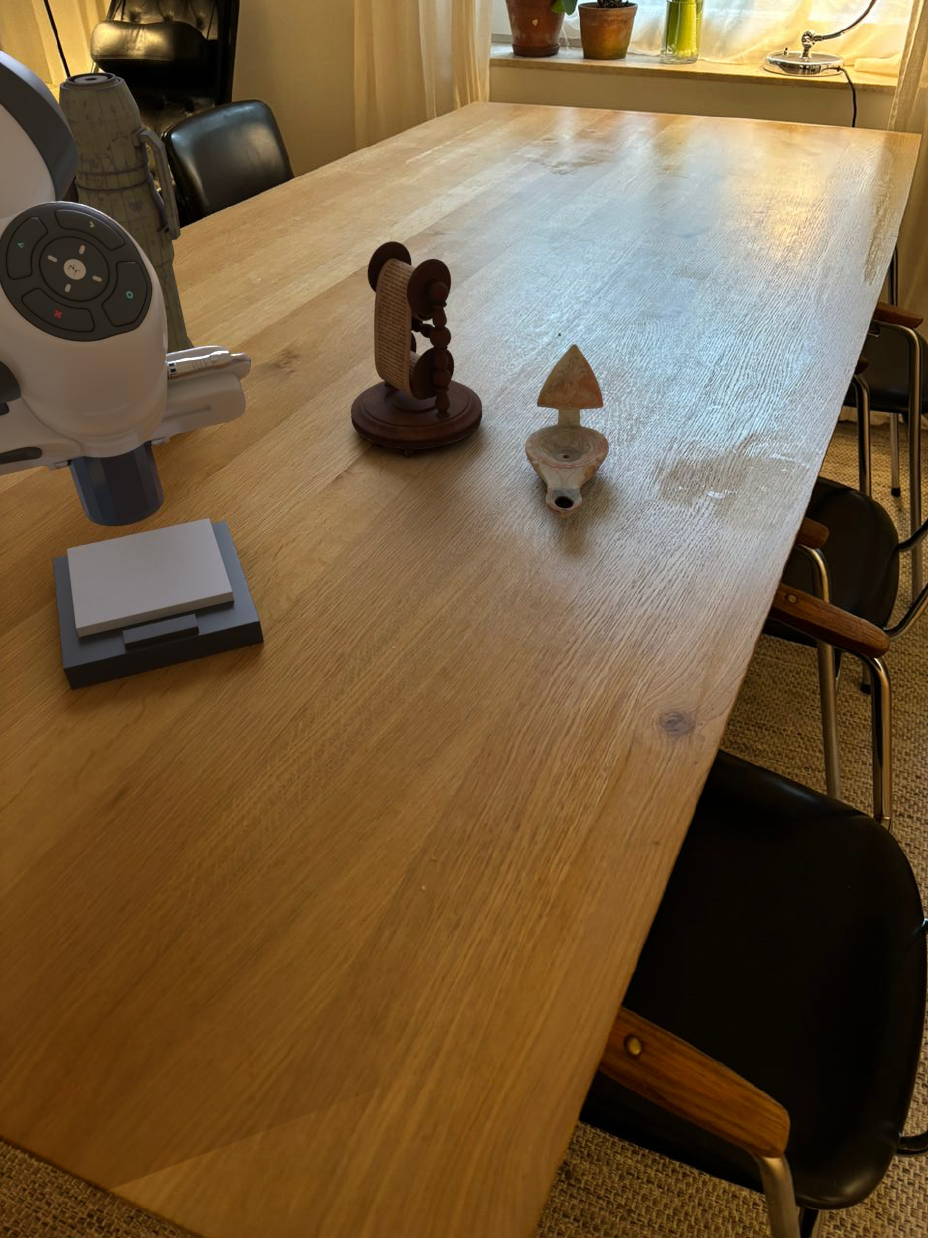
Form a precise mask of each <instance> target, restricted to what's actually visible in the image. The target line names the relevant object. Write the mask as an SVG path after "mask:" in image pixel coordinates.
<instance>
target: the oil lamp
mask: <svg viewBox="0 0 928 1238" xmlns="http://www.w3.org/2000/svg"><path fill="white" fill-rule="evenodd" d="M600 386H601V385H600V384H599V381H598V379H597V377H596V375H595V372H594V370H593V369H592V366H591V365H590V363H589V361H588V360H587V359H586V357H585V355H584V354H583V353H582V351H581V349H580V348H579V346H578V344H576V343H573V344H571V345H570V346H569V348H568V349H567V350H566V352H565V353H564V354H563V355H562V356H561V357H560V359H559V360H558V361H557V363H556V364H554V366H553V368H552V369H551V371H550V373H549V374H548V375H547V377H546V379H545V381H544V382H543V385H542V387H541V389H540V391H539V393H538V397H537V400H536V406H537V407H538V408H546V409H553V410H554V409H555V410H557V411H558V413H557V414H558V415H557V422H556V424H551V425H549V426H548V425H547V426H545V427H542V428H539V429H538V430H537V429H536V430H535V431H533V432H532V433H531V434H530V435H529V436H528V437H527V439H526V440H525V444H524V450H525V451H524V452H525V455H526V458H527V459H528V463H529V464H530V465H531V468H532V470H533V471H534V472H535V474H537V475H538V476H539V477H540V479H542V480H543V481H544V483H545V484H546V487H547V489H546V490H547V493H546V495H545V498H544V499H545V503H546V506H547V507H548V508H549V510H550V511H551V512H552V513H554V514H555V515H557V516H558V517H560V518H562V519H566V518H569V517H570V516H572V515H574V514H575V513H576V512H577V511H578V510H579V509H580V507H581V506H582V504H583V497H582V494H581V488H583V485H584V484H585V483H586V482H588V481H590V480H591V479H592V478H593V477H594V476H595V475H596V474H597V472H598V471H599V470H600V468H601V466H602V465H603V463H604V462H605V460H606V458H607V456H608V454H609V452H610V443H609V440H608V438H607V437H606V436H605V435H604V434H603V433H601V432H600V431H598V430H596V429H593V428H590V427H587V426H583V425H581V410H595V409H601V408H603V407H604V398H603V394H602V389H601V387H600Z"/></svg>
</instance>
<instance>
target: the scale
mask: <svg viewBox="0 0 928 1238" xmlns="http://www.w3.org/2000/svg"><path fill="white" fill-rule="evenodd" d="M66 553H67V554H66V555H65V554H64V555H61V556H56V557H53V558H52V568H53V578H54V589H55V598H56V600H55V601H56V609H57V610H56V611H57V621H58V629H59V631H58V632H59V640H60V649H61V650H60V652H61V660H62V661H61V663H62V670H63V672H64V675H65V677H66V681H67V683H68V685H69V688H70V690H71V691H73V690H76V689H81V688H84V687H90V686H93V685H96V684H97V685H98V684H101V683H105V682H109V681H114V680H117V679H121V678H124V677H129V676H132V675H133V676H134V675H137V674H141V673H145V672H150V671H152V670H153V671H154V670H157V669H161V668H165V667H168V666H169V667H170V666H172V665H177V664H180V663H181V664H182V663H185V662H189V661H192V660H196V659H200V658H205V657H208V656H212V655H217V654H221V653H225V652H228V651H233V650H236V649H241V648H245V647H249V646H253V645H256V644H260V643H264V642H265V639H264V634H263V630H262V625H261V620H260V617H259V614H258V611H257V608H256V605H255V602H254V600H253V596H252V593H251V591H250V587H249V585H248V581H247V578H246V575H245V573H244V569H243V567H242V564H241V561H240V558H239V555H238V552H237V549H236V546H235V543H234V540H233V537H232V534H231V532H230V528H229V525H228V522H227V520H222V521H217V522H213V523H212V522H211V519H210V517H209V518H204V519H199V520H193V521H190V522H189V521H188V522H185V523H180V524H176V525H169V526H165V527H162V528H161V527H160V528H156V529H152V530H147V531H143V532H138V533H134V534H133V533H132V534H128V535H123V536H119V537H115V538H109V539H105V540H102V541H95V542H92V543H88V544H87V543H86V544H83V545H78V546H73V547H69V548H66Z"/></svg>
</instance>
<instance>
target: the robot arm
mask: <svg viewBox="0 0 928 1238" xmlns="http://www.w3.org/2000/svg"><path fill="white" fill-rule="evenodd" d="M78 168H79V154H78V149H77V146H76V143H75V140H74V137H73V134H72V132H71V129H70V127H69V124H68V122H67V119H66V117H65V115H64V113H63V111H62V109H61V107H60V105H59V101H58V100H57V99H56V97H55V96H54V94H53V92H52V91H51V89H50V87H48V85H47V84H46V83H45V81H43V80H42V78H41V77H40V76H38V75H37V74H36V73H35V72H34V71H32V70H31V69H30V68H28V67H27V66H26V65H25V64H23V63H21V62H20V61H19V60H17V59H15V58H14V57H13V56H11V55H9V54H7V53H6V52H5V51H2V50H0V477H1V476H6V475H10V474H14V473H18V472H24V471H27V470H31V469H32V470H33V469H35V468H39V467H47V468H48V471H49V472H52V471H55V470H60V469H64V468H69V463H68V460H70V459H74V458H78V457H82V456H88V457H112V456H117V455H121V454H124V453H127V452H129V451H131V450H134V449H136V448H137V447H139V446H140V445H142V444H143V443H144V442H146V441H150V444H151V448H152V447H156V446H161V445H165V444H170V442H171V437H174V436H176V435H179V434H184V433H188V432H191V431H196V430H199V429H204V428H208V427H213V426H218V425H222V424H227V423H230V422H232V421H235V420H237V419H239V418H240V417H242V416H243V415H244V414H245V413H246V410H247V402H246V396H245V393H244V390H243V385H242V383H241V381H242V380H243V379H245V378H246V377H247V376H248V375H249V374H250V372H251V367H252V364H251V363H252V359H251V357H249V355H248V354H247V353H246V352H241V353H240V352H239V353H233V354H231V352H230V351H229V349H227V348H226V347H224V346H221V345H205V346H204V345H203V346H197V347H195V348H193V349H188V350H183V351H179V352H174V353H169V354H167V349H168V331H167V318H166V311H165V304H164V298H163V294H162V290H161V286H160V283H159V280H158V277H157V275H156V272H155V270H154V268H153V266H152V264H151V263H150V261H149V259H148V258H147V256H146V255H145V253H144V252H143V250H142V249H141V247H140V246H139V245H138V243H137V242H136V241H135V240H134V239H133V237H132V236H131V235H130V234H129V233H128V232H127V231H126V230H125V229H124V228H123V227H122V226H121V225H120V224H118V223H117V222H116V221H115V220H113V219H112V218H110V217H109V216H107V215H106V214H104V213H102V212H100V211H98V210H96V209H94V208H91V207H88V206H86V205H82V204H78V203H73V202H64V199H63V198H64V196H65V194H66V192H67V190H68V188H69V186H70V184H71V183H72V181H73V179H74V180H75V178H76V173H77V170H78Z"/></svg>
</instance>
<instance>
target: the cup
mask: <svg viewBox="0 0 928 1238" xmlns="http://www.w3.org/2000/svg"><path fill="white" fill-rule="evenodd" d="M68 463H69V466H68V469H69V471H70V474H71V478H72V481H73V483H74V487H75V489H76V493H77V495H78V499H79V502H80V506H81V508H82V511H83V512H84V515H85V517H86V518H87V519H88V521H90V522H91V523H93V524H95V525H98V526H101V527H104V526H105V527H111V528H112V527H125V526H129V525H134V524H137V523H141V522H143V521H145V520H147V519H149V518H150V517H152V516H154V515H155V514H156V513H157V512H159V510H160V509H161V508H162V506H163V505H164V502H165V494H164V490H163V487H162V482H161V479H160V474H159V472H158V467H157V463H156V460H155V456H154V452H153V448H152V447H151V444H150V441H146V442H144V443H143V444H142V445H140V446H139V447H137V448H136V449H134V450H131V451H129V452H127V453H124V454H121V455H117V456H112V457H88V456H82V457H78V458H74V459H70V460H68Z"/></svg>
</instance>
